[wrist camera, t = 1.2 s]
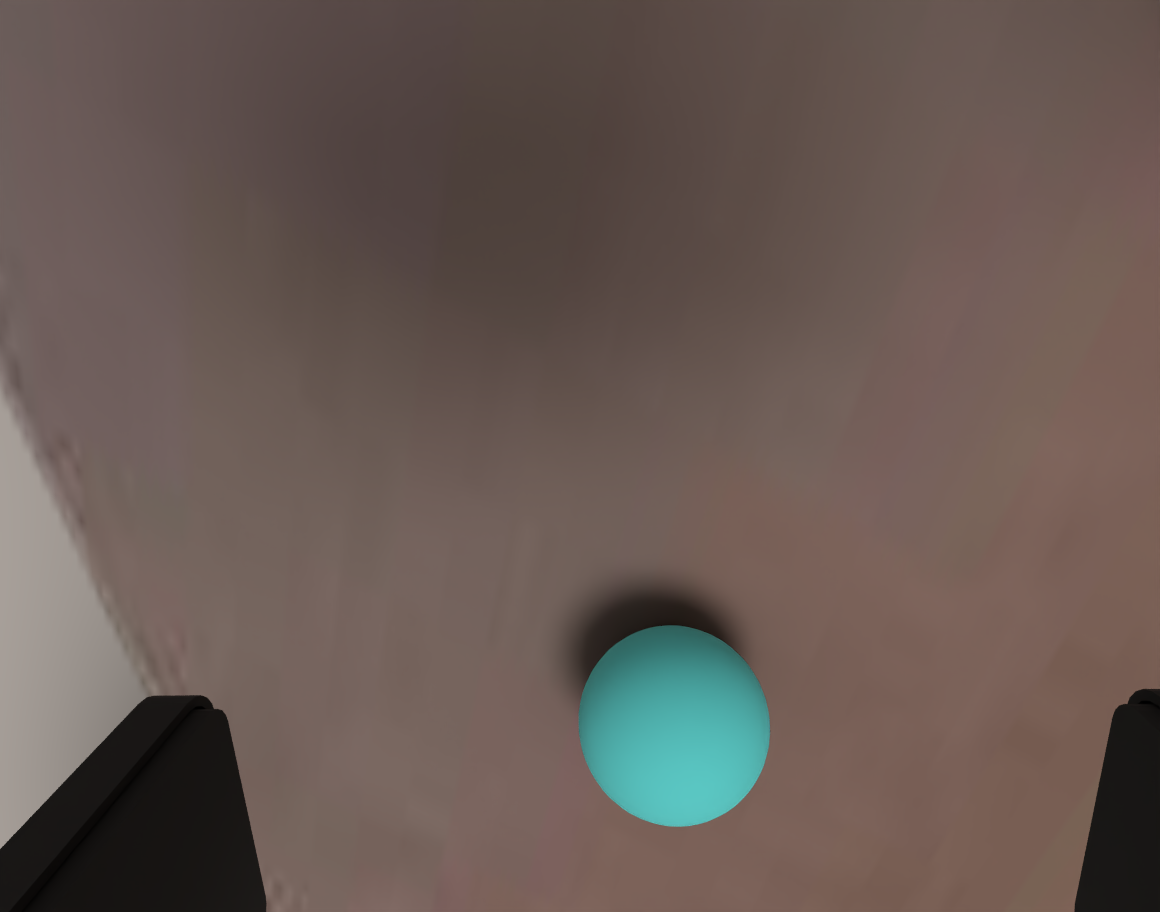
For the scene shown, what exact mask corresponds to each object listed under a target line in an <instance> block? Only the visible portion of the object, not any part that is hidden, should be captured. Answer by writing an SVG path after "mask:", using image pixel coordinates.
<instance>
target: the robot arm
mask: <svg viewBox="0 0 1160 912" xmlns="http://www.w3.org/2000/svg"><path fill="white" fill-rule="evenodd" d="M0 912H266V896H265V891H264V886H263V882H262V877H261V872H260V868H259V863H258V858H257V854H256V849H255V845H254V840H253V835H252V831H251V826H250V821H249V817H248V812H247V807H246V803H245V798H244V793H243V789H242V784H241V779H240V775H239V770H238V765H237V761H236V756H235V751H234V747H233V742H232V737H231V733H230V728H229V724H228V720H227V717H226V715H225V713H224V712H223V711H222V710H219V709H214V708H213V705H212V703H211V702H210V701H209V699H208V698H207V697H204V696H201V695H190V696H151V697H147V698H145V699H144V700H143V701H142V702H141V703H139V704H138V705H137V706H136V707H135V708H134V709H133V710H132V711H131V712H130V713H129V715H128V716H127V717H126V718H125V719H124V720H123V721H122V722H121V723H120V724H119V725H118V726H117V727H116V728H115V729H114V730H113V732H111V733H110V735H109V736H108V737H107V738H106V739H105V740H104V741H103V742H102V743H101V744H100V745H99V746H98V747H97V748H96V749H95V750H94V751H93V752H92V753H91V754H90V755H89V757H88V758H87V759H86V760H85V761H84V762H83V763H82V764H81V765H80V766H79V767H78V768H77V769H76V770H75V771H74V772H73V773H72V775H70V776H69V778H68V779H67V780H66V781H65V782H64V783H63V784H62V785H61V786H60V787H59V788H58V789H57V790H56V791H55V792H54V793H53V794H52V796H50V798H49V799H48V800H47V801H46V802H45V803H44V804H43V805H42V806H41V807H40V808H39V809H38V810H37V811H36V812H35V813H34V814H33V815H32V817H30V818H29V820H28V821H27V822H26V823H25V824H24V825H23V826H22V827H21V828H20V829H19V830H18V831H17V832H16V833H15V834H14V835H13V836H12V837H11V839H9V841H8V842H7V843H6V844H5V845H4V846H3V847H2V848H1V849H0ZM1075 912H1160V689H1142V690H1139V691H1136V692H1135V693H1134V694H1133V695H1132V696H1131V697H1130V699H1129V701H1128V704H1123V705H1120V706H1119V707H1118V708H1117V709H1116V710H1115V712H1114V715H1113V718H1112V723H1111V728H1110V733H1109V737H1108V742H1107V747H1106V752H1105V757H1104V762H1103V767H1102V772H1101V777H1100V782H1099V787H1098V792H1097V797H1096V802H1095V807H1094V812H1093V817H1092V822H1091V827H1090V832H1089V837H1088V842H1087V846H1086V851H1085V856H1084V861H1083V866H1082V871H1081V876H1080V881H1079V886H1078V891H1077V896H1076V901H1075Z"/></svg>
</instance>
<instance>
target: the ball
mask: <svg viewBox="0 0 1160 912" xmlns="http://www.w3.org/2000/svg"><path fill="white" fill-rule="evenodd" d="M579 736H580V742H581V747H582V751H583V754H584V757H585V760H586V762H587V765H588V767H589V769H590V771H591V773H592V775H593V777H594V778H595V780H596V781H597V782H598V784H599V785H600V787H601V788H602V789H603V791H604V792H605V793H606V794H607V795H608V796H609V797H610V798H611V799H612V800H613V801H614V802H615V803H617V804H618V805H619V806H620V807H621V808H623V809H624V810H626V811H627V812H629V813H630V814H632V815H634V816H636V817H638V818H641V819H643V820H646V821H649V822H651V823H655V824H659V825H665V826H678V827H679V826H691V825H697V824H701V823H704V822H707V821H710V820H712V819H715V818H717V817H719V816H721V815H722V814H724V813H726V812H728V811H729V810H730V809H732V808H733V807H735V806H736V805H737V804H738V803H739V802H740V801H741V800H742V799H743V798H744V797H745V796H746V795H747V793H748V792H749V791H750V790H751V789H752V787H753V785H754V784H755V782H756V780H757V779H758V777H759V775H760V773H761V771H762V768H763V766H764V763H765V759H766V756H767V752H768V748H769V738H770V720H769V713H768V707H767V703H766V699H765V696H764V694H763V691H762V689H761V686H760V684H759V681H758V680H757V678H756V676H755V675H754V673H753V671H752V670H751V668H750V667H749V666H748V664H747V663H746V662H745V661H744V659H743V658H742V657H741V656H740V655H739V654H738V653H737V652H735V651H734V650H733V649H732V648H731V647H730V646H729V645H727V644H726V643H725V642H723V641H722V640H720V639H718V638H716V637H714V636H713V635H710V634H708V633H706V632H703V631H701V630H698V629H694V628H690V627H685V626H674V625H666V626H656V627H651V628H647V629H644V630H641V631H638V632H636V633H633V634H631V635H629V636H627V637H626V638H624V639H623V640H621V641H619V642H618V643H616V644H615V645H614V646H613V647H612V648H610V649H609V650H608V651H607V652H606V653H605V654H604V656H603V657H602V658H601V659H600V660H599V662H598V663H597V664H596V666H595V667H594V669H593V670H592V672H591V674H590V676H589V678H588V680H587V683H586V685H585V687H584V691H583V694H582V697H581V702H580V709H579Z"/></svg>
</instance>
